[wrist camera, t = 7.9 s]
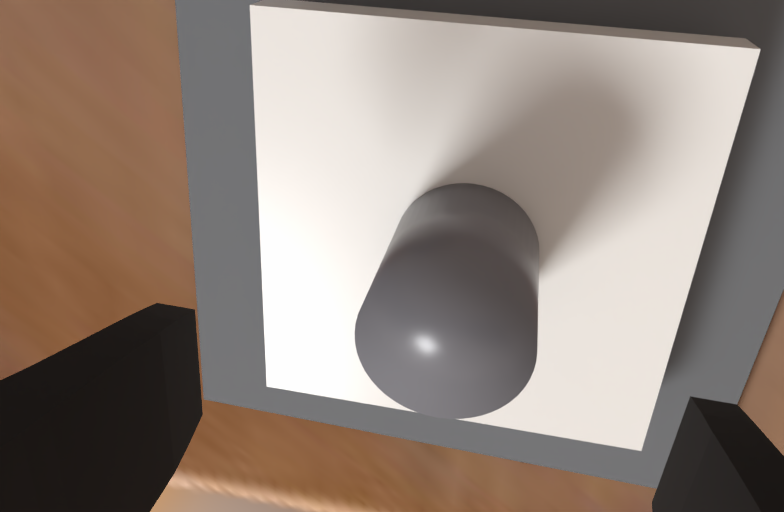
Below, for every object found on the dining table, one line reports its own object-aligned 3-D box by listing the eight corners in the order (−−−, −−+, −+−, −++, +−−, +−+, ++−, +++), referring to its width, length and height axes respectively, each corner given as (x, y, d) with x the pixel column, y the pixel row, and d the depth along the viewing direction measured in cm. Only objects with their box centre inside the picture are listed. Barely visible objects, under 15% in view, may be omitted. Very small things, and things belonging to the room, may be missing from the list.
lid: (290, 345, 19) (206, 492, 14) (282, -7, 14) (157, 38, 10) (632, 401, 17) (664, 583, 13) (734, 31, 13) (837, 104, 8)
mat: (211, 388, 21) (203, 399, 20) (175, -153, 14) (164, -155, 14) (696, 482, 19) (699, 497, 18) (922, -93, 12) (937, -92, 12)
